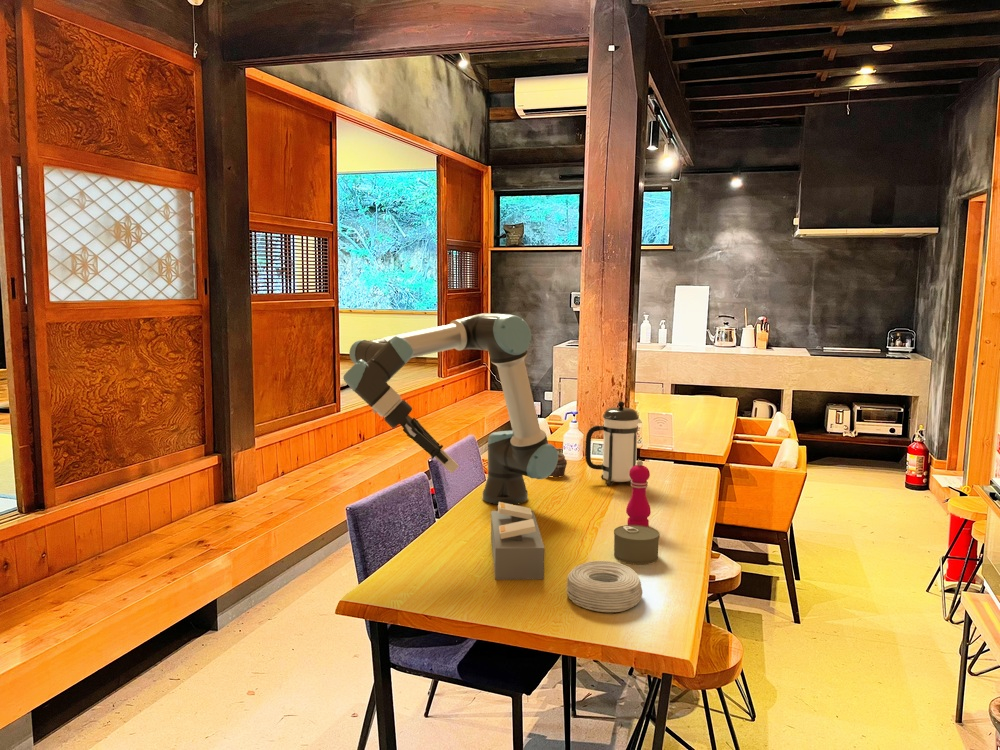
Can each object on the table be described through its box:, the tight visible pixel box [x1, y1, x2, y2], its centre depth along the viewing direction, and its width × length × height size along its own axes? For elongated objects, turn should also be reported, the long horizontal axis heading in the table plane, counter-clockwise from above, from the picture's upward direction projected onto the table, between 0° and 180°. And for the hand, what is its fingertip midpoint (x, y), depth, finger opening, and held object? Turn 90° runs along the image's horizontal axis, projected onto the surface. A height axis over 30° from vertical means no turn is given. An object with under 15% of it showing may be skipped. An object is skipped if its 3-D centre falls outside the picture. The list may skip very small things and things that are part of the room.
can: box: [613, 524, 660, 566], centre depth 198 cm, size 12×12×7 cm
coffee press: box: [585, 400, 643, 487], centre depth 270 cm, size 17×16×30 cm
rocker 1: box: [497, 502, 532, 519], centre depth 204 cm, size 6×9×2 cm, turn 93°
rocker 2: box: [499, 519, 536, 539], centre depth 189 cm, size 6×9×2 cm, turn 93°
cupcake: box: [549, 448, 568, 478], centre depth 282 cm, size 10×10×10 cm
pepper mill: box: [625, 460, 652, 527], centre depth 223 cm, size 7×7×20 cm
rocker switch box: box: [490, 510, 546, 581], centre depth 200 cm, size 36×12×9 cm, turn 3°
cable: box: [566, 560, 643, 613], centre depth 173 cm, size 18×18×6 cm
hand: (455, 469), depth 202 cm, fingers closed
